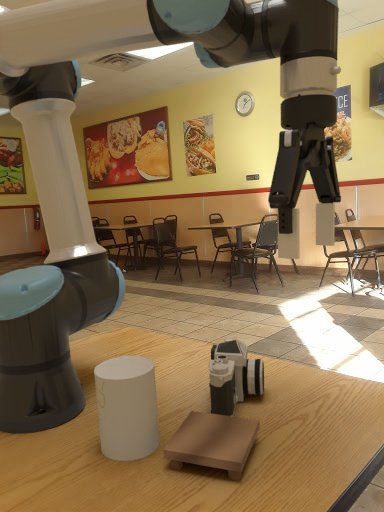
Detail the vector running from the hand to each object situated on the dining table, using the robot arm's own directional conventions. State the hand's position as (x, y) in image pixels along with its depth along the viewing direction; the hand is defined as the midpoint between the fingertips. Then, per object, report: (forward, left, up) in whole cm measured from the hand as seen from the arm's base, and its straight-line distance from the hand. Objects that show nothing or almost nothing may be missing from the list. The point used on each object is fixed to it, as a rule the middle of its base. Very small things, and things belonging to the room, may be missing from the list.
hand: (308, 251), depth 63 cm
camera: (-12, +3, -26) cm, 29 cm away
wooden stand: (-11, -14, -26) cm, 31 cm away
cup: (-23, -15, -26) cm, 38 cm away
